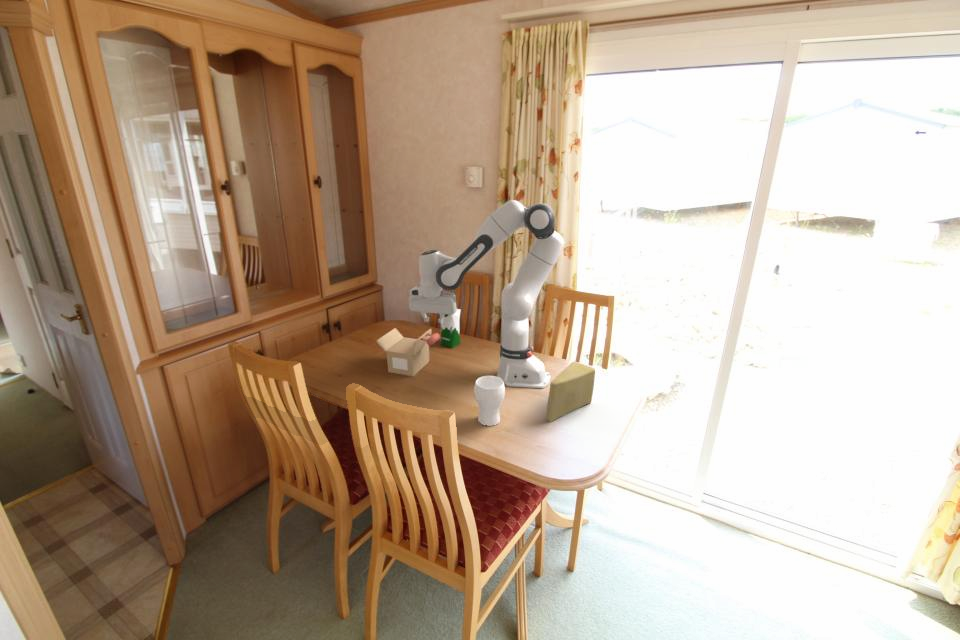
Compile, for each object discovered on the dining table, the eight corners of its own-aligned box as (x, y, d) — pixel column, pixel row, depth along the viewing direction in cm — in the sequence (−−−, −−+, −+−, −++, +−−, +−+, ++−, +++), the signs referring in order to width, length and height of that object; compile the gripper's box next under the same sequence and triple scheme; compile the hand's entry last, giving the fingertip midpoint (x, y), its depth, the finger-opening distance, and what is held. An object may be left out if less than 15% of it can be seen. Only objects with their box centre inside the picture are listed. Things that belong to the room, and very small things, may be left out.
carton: (429, 361, 197) (428, 340, 194) (413, 376, 183) (412, 354, 179) (405, 357, 201) (404, 337, 197) (388, 372, 186) (386, 351, 183)
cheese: (559, 427, 148) (563, 388, 143) (536, 416, 155) (539, 379, 149) (592, 403, 164) (596, 367, 158) (570, 394, 170) (573, 359, 165)
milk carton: (438, 345, 214) (437, 307, 207) (448, 339, 221) (448, 302, 214) (452, 349, 209) (452, 310, 203) (463, 343, 217) (462, 305, 210)
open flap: (386, 350, 183) (385, 351, 184) (403, 337, 197) (402, 338, 197) (377, 340, 183) (375, 341, 183) (395, 327, 197) (394, 328, 197)
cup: (467, 419, 152) (467, 381, 147) (488, 408, 159) (489, 372, 154) (489, 432, 145) (489, 393, 140) (510, 420, 152) (511, 382, 147)
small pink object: (428, 340, 193) (442, 344, 192) (412, 354, 179) (427, 358, 178) (430, 326, 191) (444, 330, 189) (414, 339, 177) (429, 343, 175)
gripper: (458, 290, 175) (459, 322, 180) (412, 286, 182) (415, 317, 186) (452, 294, 170) (454, 327, 174) (405, 290, 176) (408, 322, 181)
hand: (433, 322), depth 180 cm, fingers open, 5 cm apart
